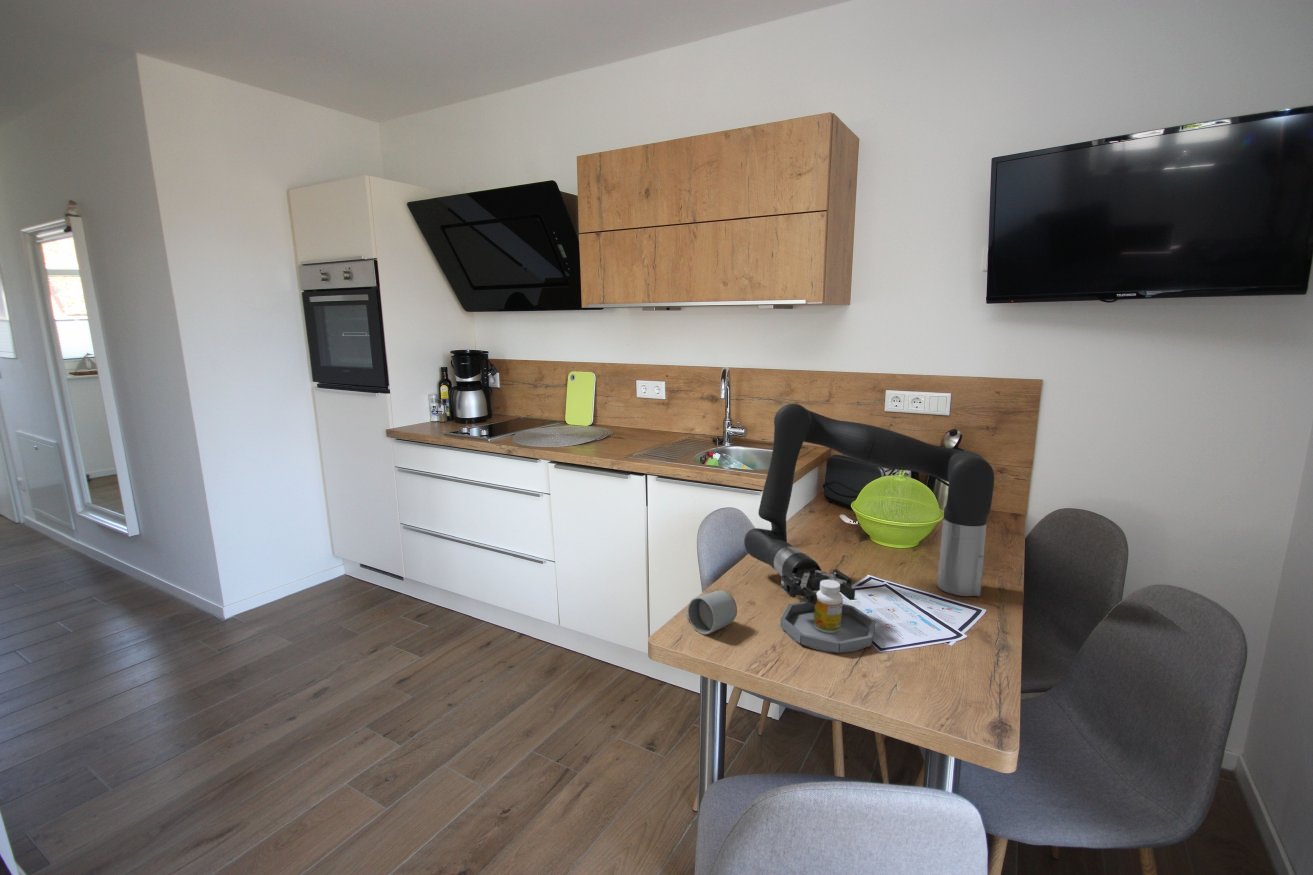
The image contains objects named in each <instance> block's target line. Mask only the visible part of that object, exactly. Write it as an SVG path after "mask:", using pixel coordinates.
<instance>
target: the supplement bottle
mask: <svg viewBox="0 0 1313 875" xmlns="http://www.w3.org/2000/svg"><path fill="white" fill-rule="evenodd" d="M815 593H816V595H817V604H815V613H814V627H815V628H816V629H818V630H819V631H822V632H825V633H835V632H838V631H839V630H840V627H841V615H842V604H844V603H843V601H844V600H843V599H844V598H843V597H844V596H843V594H842V593H840V584H839V583H838V582H836V581H834V580H822V581H821V582H820V590H817V592H815Z"/></svg>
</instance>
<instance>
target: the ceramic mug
mask: <svg viewBox="0 0 1313 875" xmlns="http://www.w3.org/2000/svg"><path fill="white" fill-rule="evenodd" d="M737 613H738V606H737V602H736V600H735V599H734V597H733V595H731V594H730V593H728V592H727V591H724V590H715V591H712V592H709V593H706V594H702V595H699V596H696V597H694V598H692V599H690V602H689V603H688V607H687V611H685V617H686V619H687V620H688V621H689V623H690V625H691V627H693V628H692V629H694V630H695V631H696V632H698V633H699V634H702V635H705V636H706V635H710V634H712V633H713V632H716V631H718V630H720V629H722V628H724V627H726V626H728V625H731V624H732V623H733V622H734V621H735V619H736V617H737V616H738V614H737Z"/></svg>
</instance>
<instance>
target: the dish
mask: <svg viewBox="0 0 1313 875" xmlns="http://www.w3.org/2000/svg"><path fill="white" fill-rule="evenodd" d="M814 613H815V604H811V603H810V602H808V601H807V600H805V601H800V602H793V603H789V604H788V605H787V607H786V609H785V610H784V612H783V614H782V616H781V618H780V628H781V629H782V630H784V631H785V633H786V634H787V636H789V637H790V639H792V640H794V642H796V643H798V644H799V645H802V646H804V647H806V648H809V649H813V650H817V651H821V652H825V653H826V652H827V653H836V654H845V653H853V652H857V651H861V650H863V649H865V648H868V647H871V646H872V644H873V640H874V636H875V631H876V623H877V622H876V620H875V619H873V618H872V617H871V616H868V614H866V613H865V612H863V611H861V610H860V609H858V608H857V607H855V606H854V605H851V604H850V605H849V604H845V603H842V615H841V627H840V630H839V631H838V632H835V633H825V632H822V631H819V630H818V629H816V628H815V627H814Z"/></svg>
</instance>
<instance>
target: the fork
mask: <svg viewBox="0 0 1313 875" xmlns="http://www.w3.org/2000/svg"><path fill="white" fill-rule="evenodd" d="M839 517H840V519H841V520H842V521H843V522H844V523H847V524H852V525H859V524H858V521H856V523H855V522H854V523H853V521H854V520H853V519H851V518H848V516H846V515H845V514H840V515H839ZM850 521H851V522H850Z"/></svg>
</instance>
